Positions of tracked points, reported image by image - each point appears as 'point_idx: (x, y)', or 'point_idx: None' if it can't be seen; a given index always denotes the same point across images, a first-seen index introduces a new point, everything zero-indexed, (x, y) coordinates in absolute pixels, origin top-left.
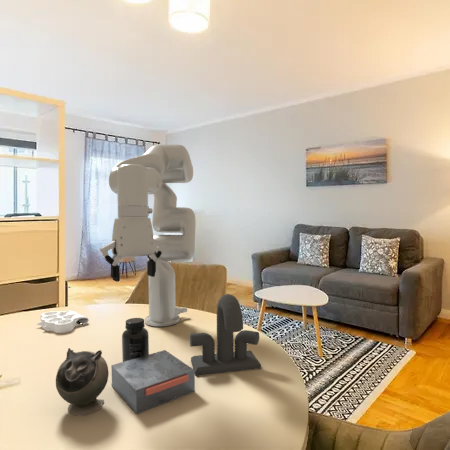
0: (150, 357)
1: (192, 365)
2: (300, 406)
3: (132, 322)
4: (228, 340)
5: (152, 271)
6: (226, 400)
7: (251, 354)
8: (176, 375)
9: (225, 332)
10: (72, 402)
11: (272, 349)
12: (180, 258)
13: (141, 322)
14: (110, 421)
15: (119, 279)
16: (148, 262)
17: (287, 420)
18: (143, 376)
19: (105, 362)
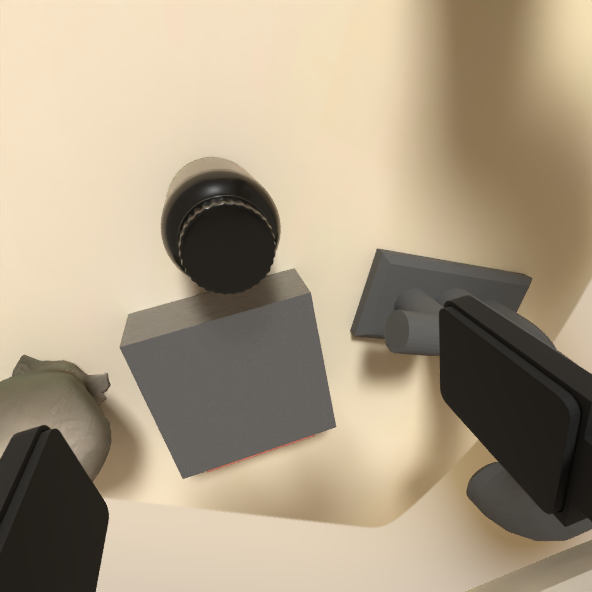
0: (251, 331)
1: (368, 281)
2: (448, 467)
3: (211, 280)
4: None
5: (474, 433)
6: (359, 431)
7: (514, 311)
8: (288, 440)
9: None
10: None
11: (585, 262)
12: None
13: (255, 283)
14: (127, 446)
15: (105, 525)
16: (554, 431)
17: (407, 490)
18: (209, 429)
19: (95, 462)
